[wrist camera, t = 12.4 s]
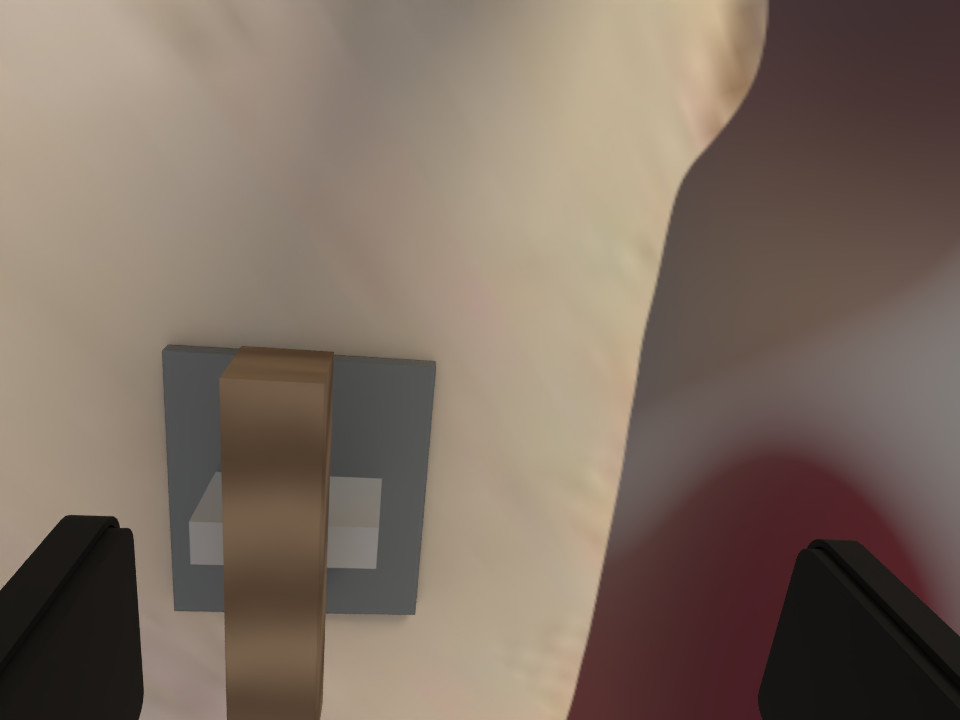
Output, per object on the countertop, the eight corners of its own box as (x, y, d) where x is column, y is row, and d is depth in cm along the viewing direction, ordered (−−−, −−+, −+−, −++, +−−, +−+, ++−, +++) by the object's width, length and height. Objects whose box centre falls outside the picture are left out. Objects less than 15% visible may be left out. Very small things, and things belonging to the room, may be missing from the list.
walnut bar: (242, 346, 31) (219, 378, 27) (334, 351, 31) (324, 383, 28) (246, 702, 37) (228, 768, 34) (322, 702, 38) (313, 767, 34)
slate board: (168, 344, 37) (125, 386, 31) (435, 361, 38) (440, 403, 33) (179, 599, 42) (144, 675, 36) (414, 604, 44) (416, 676, 38)
